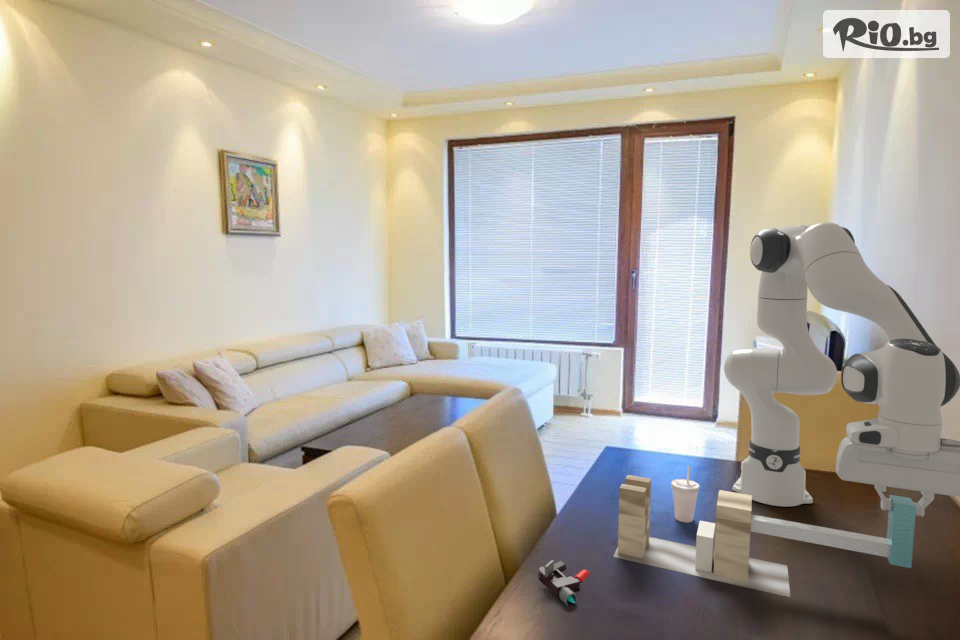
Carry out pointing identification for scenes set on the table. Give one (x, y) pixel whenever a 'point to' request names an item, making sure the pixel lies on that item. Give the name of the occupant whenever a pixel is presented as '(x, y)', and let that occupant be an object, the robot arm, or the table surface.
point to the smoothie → (684, 498)
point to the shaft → (892, 547)
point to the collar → (705, 546)
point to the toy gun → (561, 581)
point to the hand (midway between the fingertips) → (901, 512)
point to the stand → (728, 552)
